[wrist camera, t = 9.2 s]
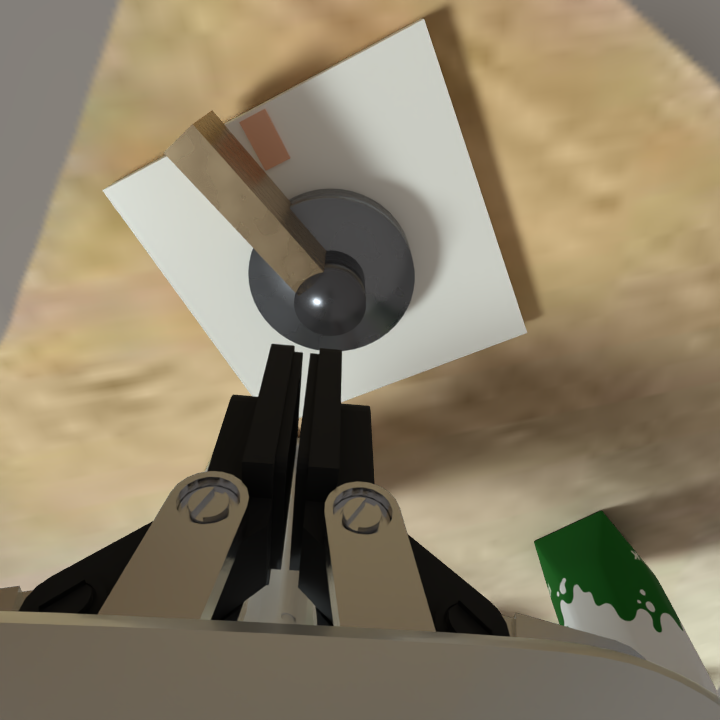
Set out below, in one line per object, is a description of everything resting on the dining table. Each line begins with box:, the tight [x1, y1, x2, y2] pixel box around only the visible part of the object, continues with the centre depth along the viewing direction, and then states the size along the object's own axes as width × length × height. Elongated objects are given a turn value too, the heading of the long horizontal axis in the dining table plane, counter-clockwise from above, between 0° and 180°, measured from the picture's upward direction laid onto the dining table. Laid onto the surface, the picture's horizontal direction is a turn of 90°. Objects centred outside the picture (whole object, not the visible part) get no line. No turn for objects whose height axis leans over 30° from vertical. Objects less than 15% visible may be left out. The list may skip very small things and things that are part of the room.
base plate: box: [103, 19, 527, 418], centre depth 34 cm, size 20×20×2 cm
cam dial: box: [164, 111, 415, 351], centre depth 30 cm, size 16×10×5 cm, turn 38°
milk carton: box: [534, 511, 720, 698], centre depth 43 cm, size 9×9×20 cm
